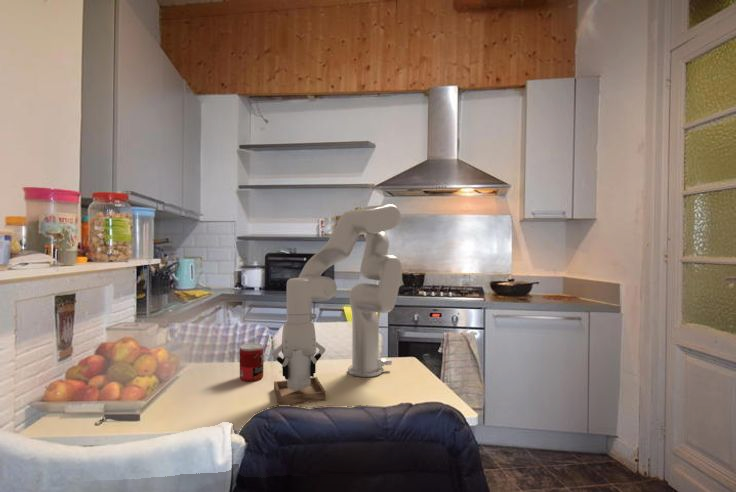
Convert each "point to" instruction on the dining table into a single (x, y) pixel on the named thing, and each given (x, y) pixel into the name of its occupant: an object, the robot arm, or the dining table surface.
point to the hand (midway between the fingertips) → (299, 376)
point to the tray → (299, 393)
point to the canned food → (251, 362)
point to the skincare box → (299, 371)
